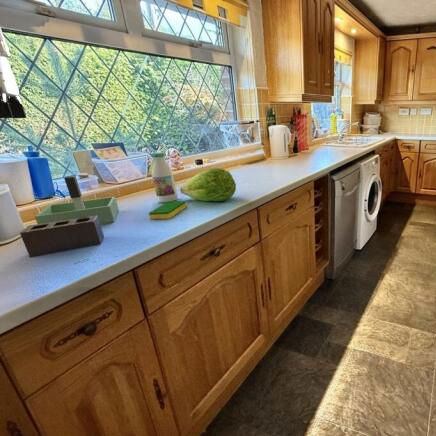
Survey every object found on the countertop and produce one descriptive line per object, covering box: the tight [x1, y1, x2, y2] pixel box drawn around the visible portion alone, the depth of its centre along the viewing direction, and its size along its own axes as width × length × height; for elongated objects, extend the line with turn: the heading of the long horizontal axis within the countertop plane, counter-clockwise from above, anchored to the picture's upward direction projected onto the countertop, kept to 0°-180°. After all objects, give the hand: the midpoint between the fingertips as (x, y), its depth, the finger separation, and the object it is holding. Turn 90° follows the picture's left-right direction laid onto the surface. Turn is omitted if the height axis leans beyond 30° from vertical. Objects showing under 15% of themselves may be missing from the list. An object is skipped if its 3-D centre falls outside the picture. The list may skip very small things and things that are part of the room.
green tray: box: [34, 196, 120, 225], centre depth 105 cm, size 20×15×6 cm
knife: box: [63, 175, 85, 210], centre depth 103 cm, size 3×2×15 cm
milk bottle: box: [151, 151, 179, 203], centre depth 125 cm, size 8×8×20 cm
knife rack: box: [19, 215, 105, 258], centre depth 84 cm, size 16×6×7 cm, turn 118°
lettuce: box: [179, 167, 237, 202], centre depth 124 cm, size 15×24×14 cm, turn 73°
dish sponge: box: [148, 200, 187, 220], centre depth 111 cm, size 7×14×2 cm, turn 0°
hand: (12, 118), depth 84 cm, fingers open, 9 cm apart
